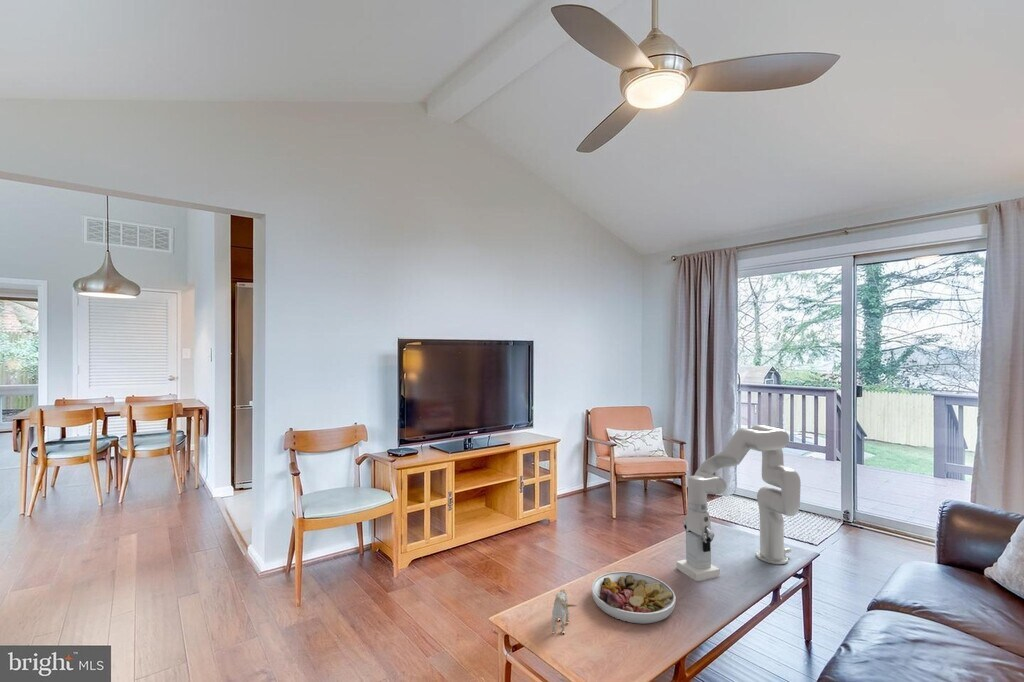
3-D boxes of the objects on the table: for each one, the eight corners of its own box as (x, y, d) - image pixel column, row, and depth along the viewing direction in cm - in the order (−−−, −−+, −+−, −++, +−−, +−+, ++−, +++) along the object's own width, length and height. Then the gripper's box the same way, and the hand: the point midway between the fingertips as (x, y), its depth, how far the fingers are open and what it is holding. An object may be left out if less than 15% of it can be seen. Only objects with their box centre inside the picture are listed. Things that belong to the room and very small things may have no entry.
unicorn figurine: (554, 648, 145) (554, 605, 146) (547, 613, 165) (547, 575, 165) (576, 648, 146) (576, 605, 146) (567, 613, 165) (567, 575, 165)
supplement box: (711, 567, 194) (711, 537, 194) (696, 569, 192) (696, 538, 192) (700, 559, 201) (700, 530, 201) (685, 561, 199) (685, 531, 199)
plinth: (698, 563, 203) (698, 556, 203) (719, 576, 192) (719, 569, 192) (676, 568, 199) (676, 561, 199) (696, 581, 188) (696, 573, 188)
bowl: (619, 576, 193) (619, 557, 193) (690, 604, 171) (689, 583, 171) (575, 603, 172) (575, 582, 172) (649, 640, 150) (649, 615, 150)
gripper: (720, 511, 189) (720, 553, 189) (690, 498, 206) (690, 537, 205) (705, 514, 187) (706, 556, 187) (676, 500, 203) (677, 540, 203)
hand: (698, 546), depth 196 cm, fingers open, 9 cm apart
